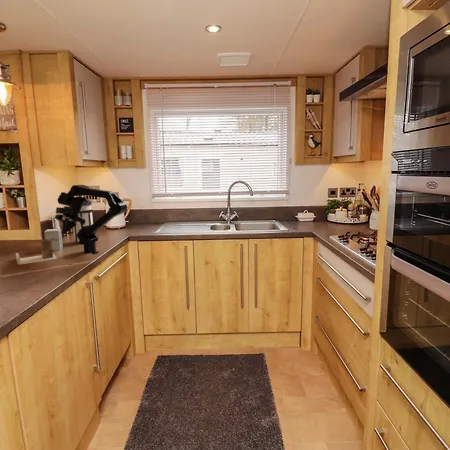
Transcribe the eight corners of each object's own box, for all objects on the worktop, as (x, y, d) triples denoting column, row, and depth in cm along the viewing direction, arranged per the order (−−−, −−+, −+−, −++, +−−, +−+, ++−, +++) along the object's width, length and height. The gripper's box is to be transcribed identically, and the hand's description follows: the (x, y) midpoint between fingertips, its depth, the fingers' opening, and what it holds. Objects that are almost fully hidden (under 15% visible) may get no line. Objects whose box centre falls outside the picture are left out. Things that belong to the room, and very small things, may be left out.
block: (51, 255, 170) (50, 238, 168) (53, 257, 166) (51, 240, 165) (42, 257, 167) (40, 240, 166) (43, 258, 164) (41, 241, 162)
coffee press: (65, 244, 202) (59, 196, 197) (86, 238, 216) (82, 194, 211) (83, 246, 194) (78, 196, 189) (104, 241, 208) (100, 194, 203)
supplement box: (46, 253, 179) (43, 231, 177) (49, 250, 186) (47, 229, 184) (60, 252, 181) (58, 230, 179) (63, 249, 188) (61, 228, 186)
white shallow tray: (53, 255, 174) (52, 248, 173) (57, 260, 164) (56, 252, 163) (16, 261, 164) (15, 253, 164) (18, 267, 154) (17, 258, 153)
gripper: (52, 200, 170) (39, 226, 165) (73, 200, 161) (60, 228, 156) (69, 209, 179) (57, 235, 174) (91, 210, 170) (79, 237, 165)
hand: (63, 234), depth 167 cm, fingers closed
